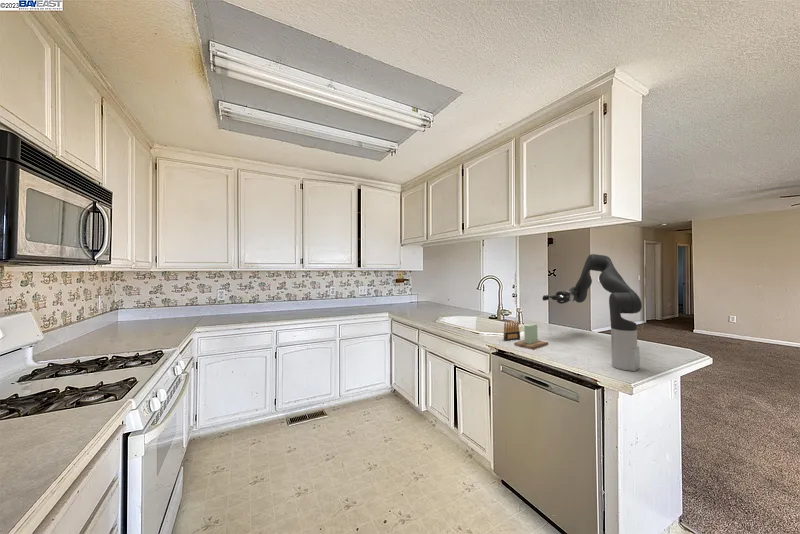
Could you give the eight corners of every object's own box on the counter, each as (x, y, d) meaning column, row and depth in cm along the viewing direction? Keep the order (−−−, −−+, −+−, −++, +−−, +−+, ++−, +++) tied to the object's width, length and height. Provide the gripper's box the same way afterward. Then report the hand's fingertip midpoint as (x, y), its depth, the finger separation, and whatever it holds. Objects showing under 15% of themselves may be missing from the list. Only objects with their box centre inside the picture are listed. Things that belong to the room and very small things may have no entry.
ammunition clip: (518, 338, 186) (517, 319, 186) (520, 339, 184) (519, 320, 184) (503, 340, 183) (502, 321, 183) (505, 341, 181) (504, 321, 181)
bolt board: (548, 344, 170) (548, 341, 170) (533, 349, 162) (533, 346, 162) (528, 340, 180) (528, 338, 180) (514, 345, 171) (514, 342, 171)
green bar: (537, 341, 172) (537, 324, 172) (529, 344, 167) (529, 326, 167) (532, 340, 174) (532, 323, 174) (524, 342, 170) (524, 325, 170)
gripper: (552, 290, 187) (538, 292, 178) (576, 291, 176) (562, 293, 166) (552, 302, 187) (538, 304, 178) (576, 304, 176) (563, 306, 166)
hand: (550, 299), depth 172 cm, fingers open, 8 cm apart
